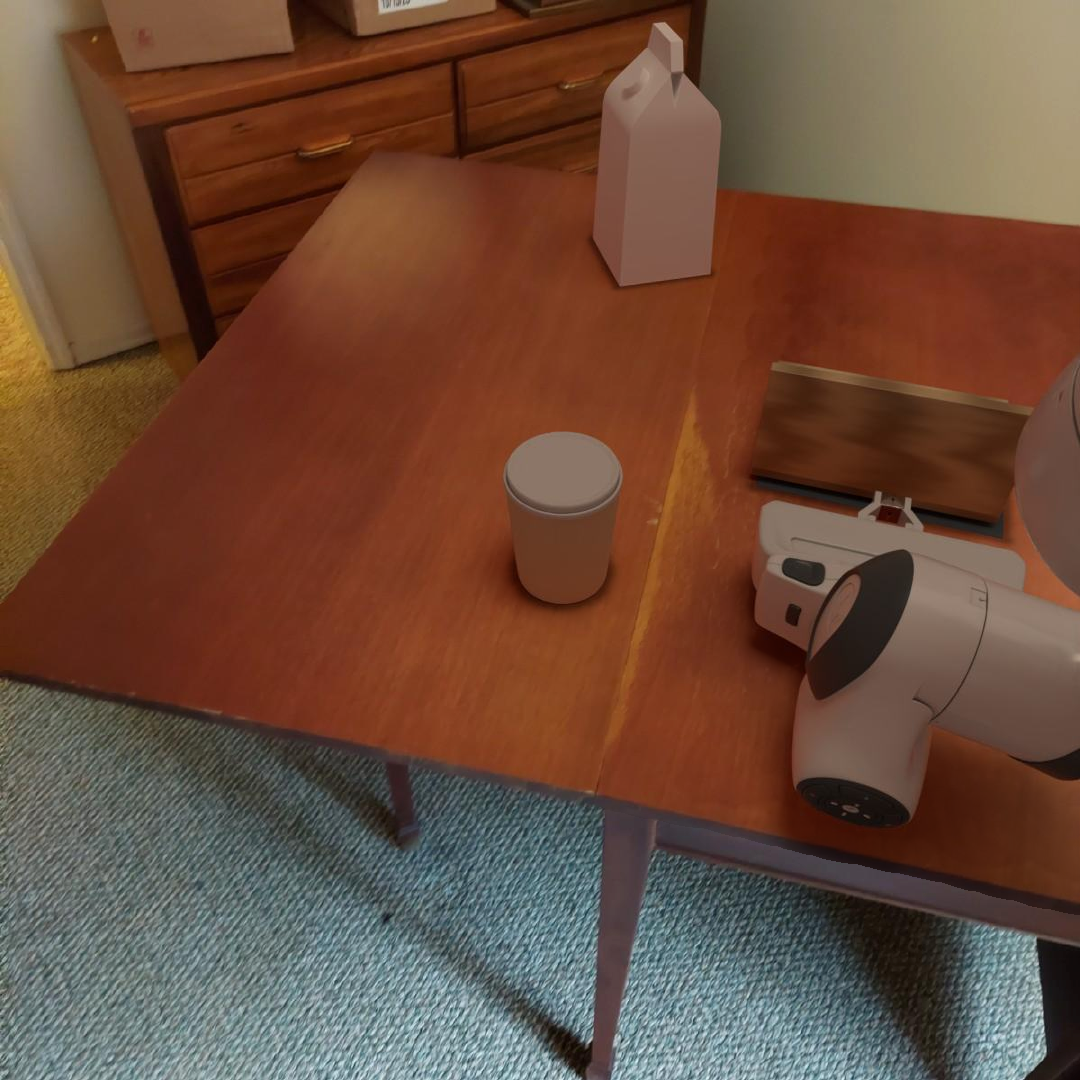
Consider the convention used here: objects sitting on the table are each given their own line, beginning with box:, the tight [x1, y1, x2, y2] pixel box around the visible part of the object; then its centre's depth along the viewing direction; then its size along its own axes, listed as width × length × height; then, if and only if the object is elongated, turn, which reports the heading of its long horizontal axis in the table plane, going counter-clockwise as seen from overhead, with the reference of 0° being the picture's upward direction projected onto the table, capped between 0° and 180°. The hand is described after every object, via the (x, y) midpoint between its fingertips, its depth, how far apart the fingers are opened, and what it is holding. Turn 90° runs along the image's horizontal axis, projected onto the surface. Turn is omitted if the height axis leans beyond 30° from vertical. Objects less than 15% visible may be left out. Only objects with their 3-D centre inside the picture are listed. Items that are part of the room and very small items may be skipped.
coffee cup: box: [502, 431, 624, 605], centre depth 78 cm, size 9×9×12 cm
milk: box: [592, 21, 722, 288], centre depth 110 cm, size 12×12×26 cm
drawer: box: [749, 360, 1035, 523], centre depth 88 cm, size 22×14×13 cm, turn 72°
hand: (891, 499), depth 79 cm, fingers closed
